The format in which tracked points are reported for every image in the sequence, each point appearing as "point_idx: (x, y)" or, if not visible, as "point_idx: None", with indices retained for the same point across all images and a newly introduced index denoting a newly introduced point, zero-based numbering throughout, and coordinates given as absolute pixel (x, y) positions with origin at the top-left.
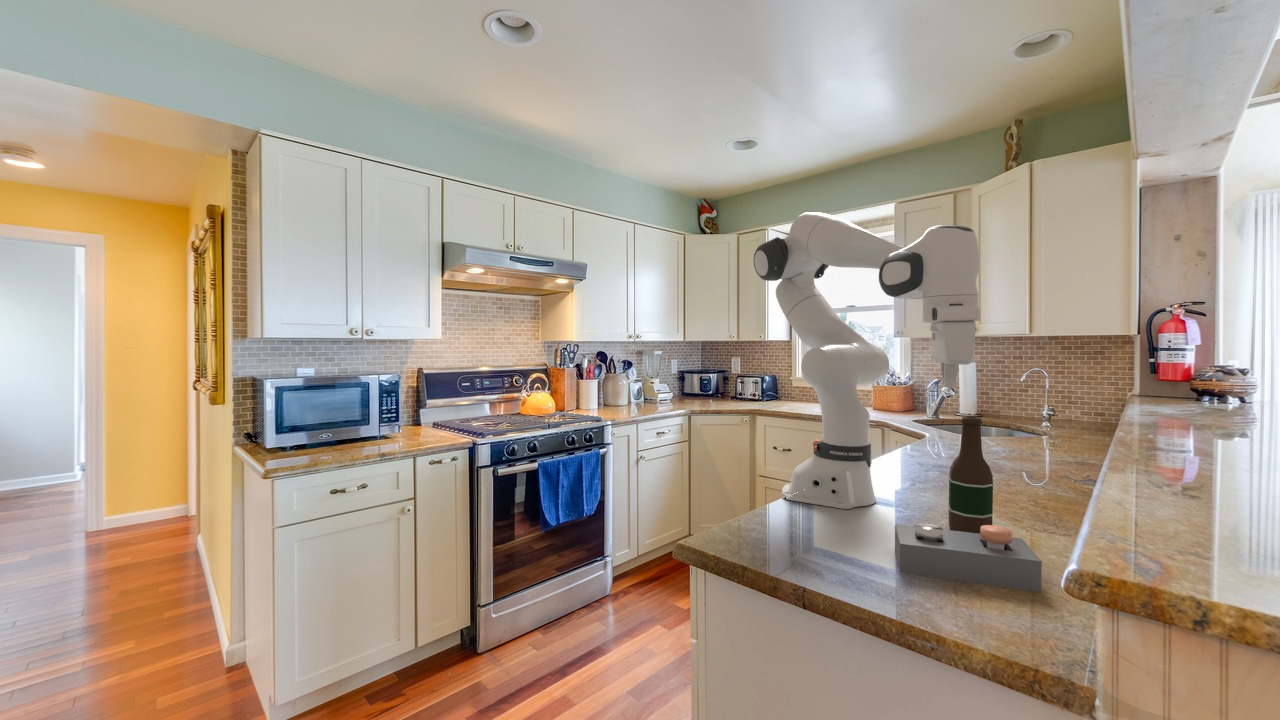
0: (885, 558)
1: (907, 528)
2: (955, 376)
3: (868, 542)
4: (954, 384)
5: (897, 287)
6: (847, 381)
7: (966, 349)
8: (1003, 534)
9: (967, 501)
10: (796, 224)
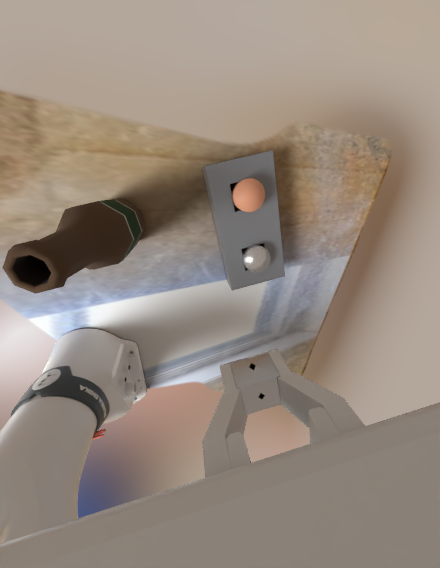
0: None
1: (239, 278)
2: (303, 378)
3: (220, 302)
4: (280, 356)
5: None
6: None
7: None
8: (263, 187)
9: (137, 232)
10: None
